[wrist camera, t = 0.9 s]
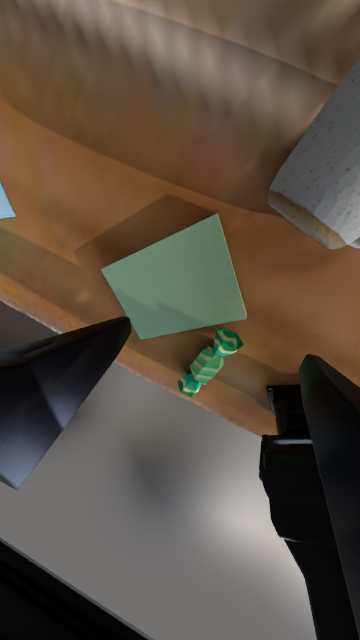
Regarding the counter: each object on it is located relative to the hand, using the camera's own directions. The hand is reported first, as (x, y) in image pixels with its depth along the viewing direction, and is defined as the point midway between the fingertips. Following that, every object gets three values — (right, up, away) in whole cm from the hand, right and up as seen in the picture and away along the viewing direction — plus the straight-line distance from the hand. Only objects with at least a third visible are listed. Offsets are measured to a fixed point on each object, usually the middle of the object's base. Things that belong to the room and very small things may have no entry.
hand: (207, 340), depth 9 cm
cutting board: (-2, +5, +14) cm, 15 cm away
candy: (+3, -5, +18) cm, 19 cm away
